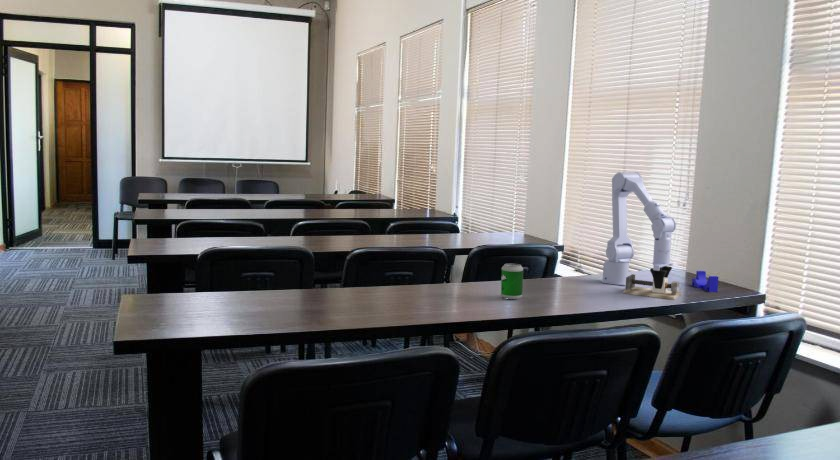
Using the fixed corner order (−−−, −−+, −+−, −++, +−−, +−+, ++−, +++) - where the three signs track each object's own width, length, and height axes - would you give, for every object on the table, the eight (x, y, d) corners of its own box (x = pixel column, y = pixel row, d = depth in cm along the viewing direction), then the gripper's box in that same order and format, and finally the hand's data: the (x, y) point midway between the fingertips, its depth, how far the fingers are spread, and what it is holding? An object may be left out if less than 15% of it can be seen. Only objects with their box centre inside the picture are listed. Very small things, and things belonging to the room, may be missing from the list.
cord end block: (652, 291, 238) (653, 278, 237) (655, 289, 242) (656, 276, 242) (663, 293, 236) (664, 279, 235) (667, 291, 240) (667, 277, 239)
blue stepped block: (691, 285, 257) (692, 270, 256) (703, 285, 257) (704, 270, 256) (705, 292, 245) (706, 276, 244) (717, 292, 245) (718, 276, 245)
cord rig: (623, 293, 242) (624, 277, 241) (631, 288, 250) (631, 273, 249) (674, 299, 232) (675, 283, 231) (680, 294, 240) (681, 279, 239)
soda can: (524, 297, 234) (525, 264, 232) (518, 301, 227) (519, 267, 225) (504, 295, 237) (505, 262, 235) (498, 299, 230) (498, 265, 228)
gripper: (668, 254, 229) (666, 292, 231) (678, 249, 241) (676, 285, 243) (648, 252, 233) (646, 289, 234) (658, 247, 245) (656, 282, 246)
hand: (660, 287), depth 239 cm, fingers closed on cord end block, 5 cm apart
